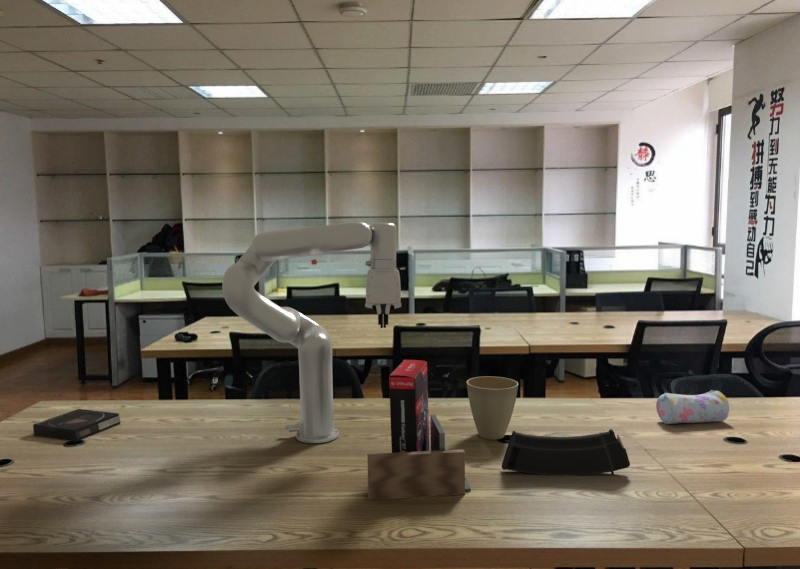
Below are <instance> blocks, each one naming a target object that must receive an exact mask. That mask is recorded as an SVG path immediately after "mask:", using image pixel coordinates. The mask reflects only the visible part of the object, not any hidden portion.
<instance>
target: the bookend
mask: <svg viewBox="0 0 800 569" xmlns="http://www.w3.org/2000/svg"><path fill="white" fill-rule="evenodd" d="M429 415H430V416H429V417H430V418H429V424H430V425H429V426H430V451H440V450H446V441H445V440H446V438H445V437H446V434H445V431H444V429H443V427H442V425H441V422H440V421H439V419H438V418H437V416H436V414H429ZM471 491H472V490H471V486H470V485H469V483H468V480H467V479H466V477H465V492H471Z"/></svg>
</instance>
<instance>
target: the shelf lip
mask: <svg viewBox="0 0 800 569" xmlns="http://www.w3.org/2000/svg"><path fill="white" fill-rule="evenodd" d="M465 478H466V452H465V449H462V448H461V449H448V450H447V449H445V450H440V451H431V450H430V451H419V452H399V453H392V452H383V453H382V452H381V453H380V452H379V453H367V496H368V498H367V499H368V501H369V500H370V501H374V500H387V499H389V500H391V499H408V498H410V499H411V498H423V497H439V496H438V495H447V496H462V495H461V494H464V495H466V491H465ZM459 494H460V495H459Z"/></svg>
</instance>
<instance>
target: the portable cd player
mask: <svg viewBox="0 0 800 569" xmlns="http://www.w3.org/2000/svg"><path fill="white" fill-rule="evenodd" d="M120 424H121V418H120V414H119V412H118V413H117V412H109V411H99V410H91V409H82V408H77V409H74V410H71V411H68V412H66V413H62V414H59V415H57V416H53V417H51V418H47V419H45V420H42V421H40V422H36V423H34V424H32V426H33V427H32V428H33V436H34V437H40V438H45V439H54V440H60V441H68V442H80V441H81V440H84V439H86V438H89V437H92V436H94V435H97V434H99V433H102V432H104V431H106V430H109V429H112V428H115V427H116V426H119V425H120Z"/></svg>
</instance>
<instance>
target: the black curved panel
mask: <svg viewBox="0 0 800 569" xmlns="http://www.w3.org/2000/svg"><path fill="white" fill-rule="evenodd" d="M616 436H617V437H616ZM630 466H631V462H630V459H629V455H628V452H627V449H626V448H625V446H624V444H623V442H622V439H621V437H620V435H619V434H615V432H614V430H613V429H612V428H611V429H609V430H608V431H604V432H599V433H594V434H587V435H578V436H547V435H546V436H545V435H532V434H526V433H521V432H517V431H516V430H512V432H511V435H510V437H509V440H508V444H507V445H506V450H505V453H504V456H503V459H502V463H501V469H502V470H503V471H505V470H507V471H513V472H521V473H526V474H532V475H533V474H534V475H542V476H561V475H579V476H589V475H595V474H606V473H611V475H613V474H614V475H615V473H614V472H616V471H620V470H624V469H627V468H629V467H630Z"/></svg>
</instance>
